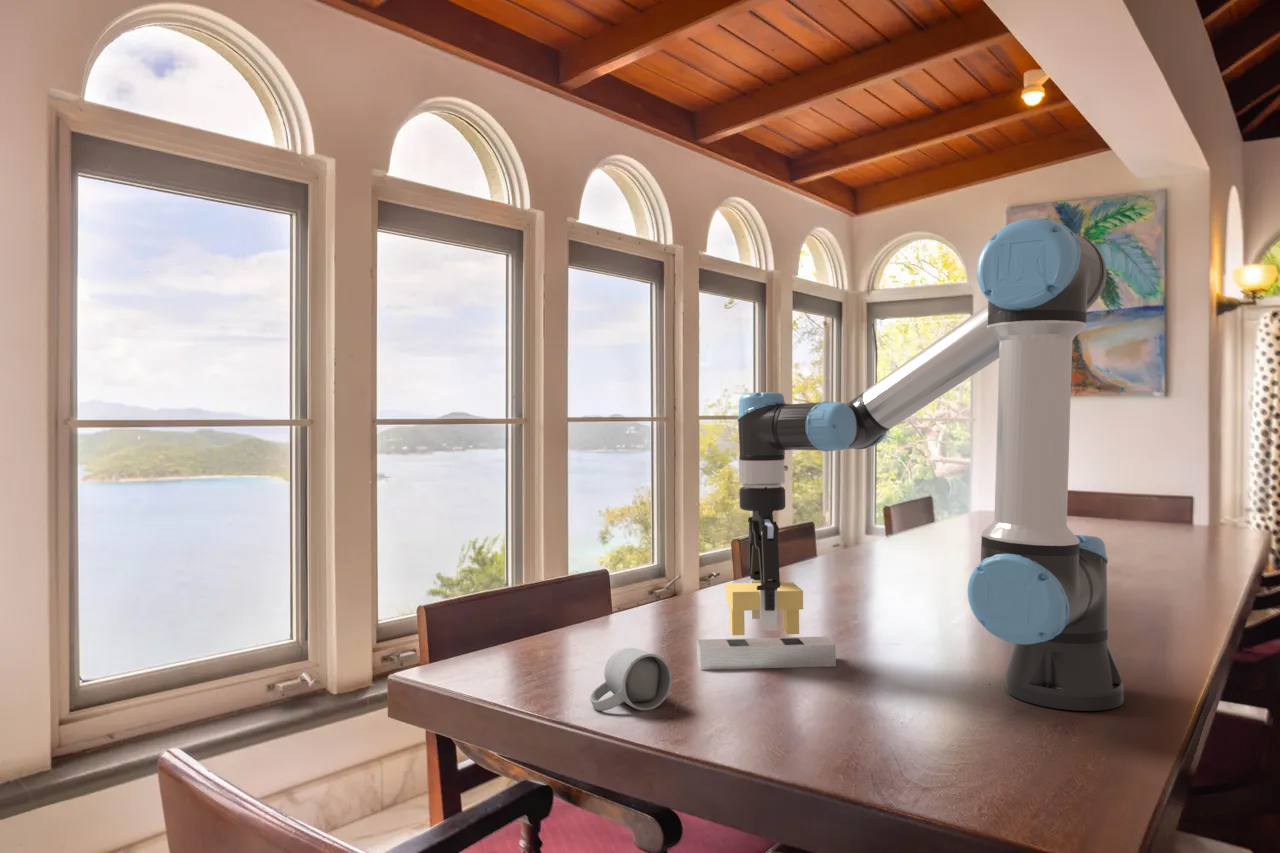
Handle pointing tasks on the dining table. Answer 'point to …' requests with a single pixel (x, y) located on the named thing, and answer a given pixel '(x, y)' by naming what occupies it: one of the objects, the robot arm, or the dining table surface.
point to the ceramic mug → (633, 681)
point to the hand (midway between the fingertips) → (763, 623)
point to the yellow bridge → (749, 599)
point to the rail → (765, 653)
